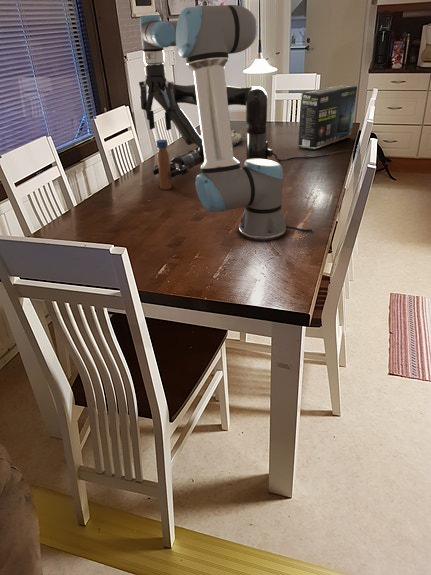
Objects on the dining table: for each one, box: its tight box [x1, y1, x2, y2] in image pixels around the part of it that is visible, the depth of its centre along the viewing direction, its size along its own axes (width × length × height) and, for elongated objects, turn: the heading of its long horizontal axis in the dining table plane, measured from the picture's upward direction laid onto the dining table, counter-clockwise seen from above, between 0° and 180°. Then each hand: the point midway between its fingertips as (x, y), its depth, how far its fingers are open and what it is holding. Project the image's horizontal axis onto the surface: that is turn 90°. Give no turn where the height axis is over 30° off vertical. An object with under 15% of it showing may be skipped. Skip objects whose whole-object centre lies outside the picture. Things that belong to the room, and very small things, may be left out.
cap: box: [155, 139, 169, 149], centre depth 182 cm, size 4×4×2 cm
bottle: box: [156, 147, 173, 190], centre depth 187 cm, size 5×5×19 cm
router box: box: [297, 84, 358, 151], centre depth 238 cm, size 36×11×27 cm, turn 134°
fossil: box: [231, 128, 246, 146], centre depth 252 cm, size 18×11×15 cm
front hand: (160, 128), depth 179 cm, fingers open, 7 cm apart
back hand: (162, 173), depth 188 cm, fingers open, 8 cm apart
